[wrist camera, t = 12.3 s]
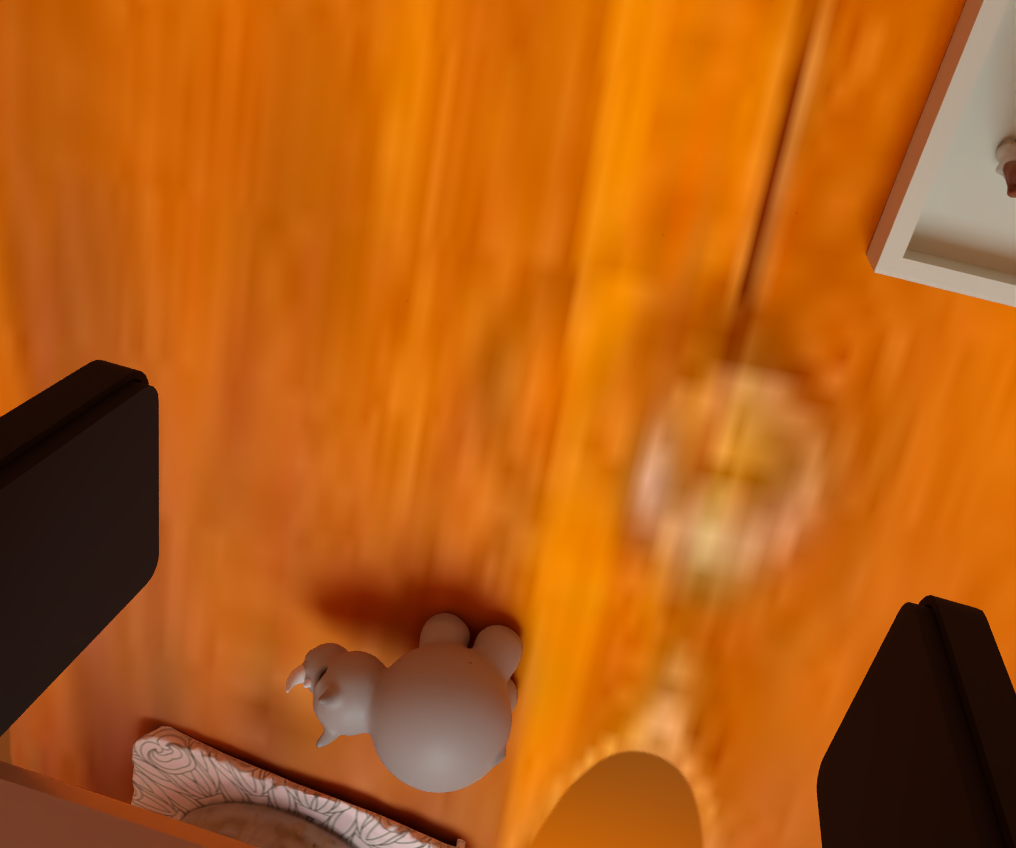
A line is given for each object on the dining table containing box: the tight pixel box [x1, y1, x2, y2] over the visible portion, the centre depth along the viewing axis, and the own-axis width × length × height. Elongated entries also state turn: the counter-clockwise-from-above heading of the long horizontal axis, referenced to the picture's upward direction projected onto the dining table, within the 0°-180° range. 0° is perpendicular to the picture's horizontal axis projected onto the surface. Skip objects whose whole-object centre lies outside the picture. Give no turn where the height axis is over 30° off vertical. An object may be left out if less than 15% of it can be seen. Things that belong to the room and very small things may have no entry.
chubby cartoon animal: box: [286, 613, 523, 793], centre depth 49 cm, size 8×12×9 cm, turn 82°
